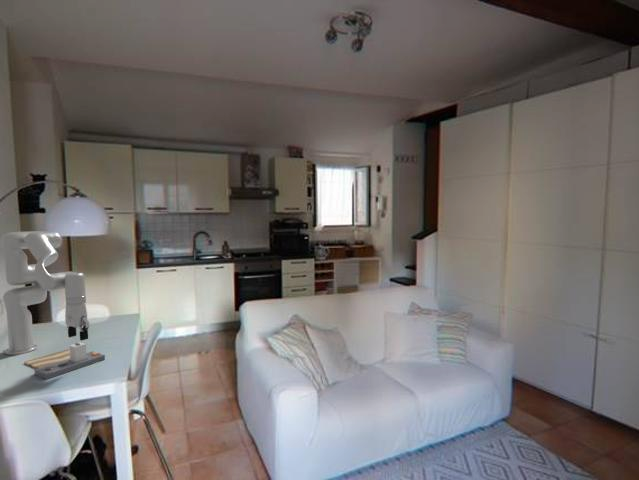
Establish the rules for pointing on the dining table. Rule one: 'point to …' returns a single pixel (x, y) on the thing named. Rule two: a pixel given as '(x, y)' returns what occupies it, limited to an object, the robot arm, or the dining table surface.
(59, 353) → the wooden board
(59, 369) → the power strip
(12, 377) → the dining table surface
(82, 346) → the block
